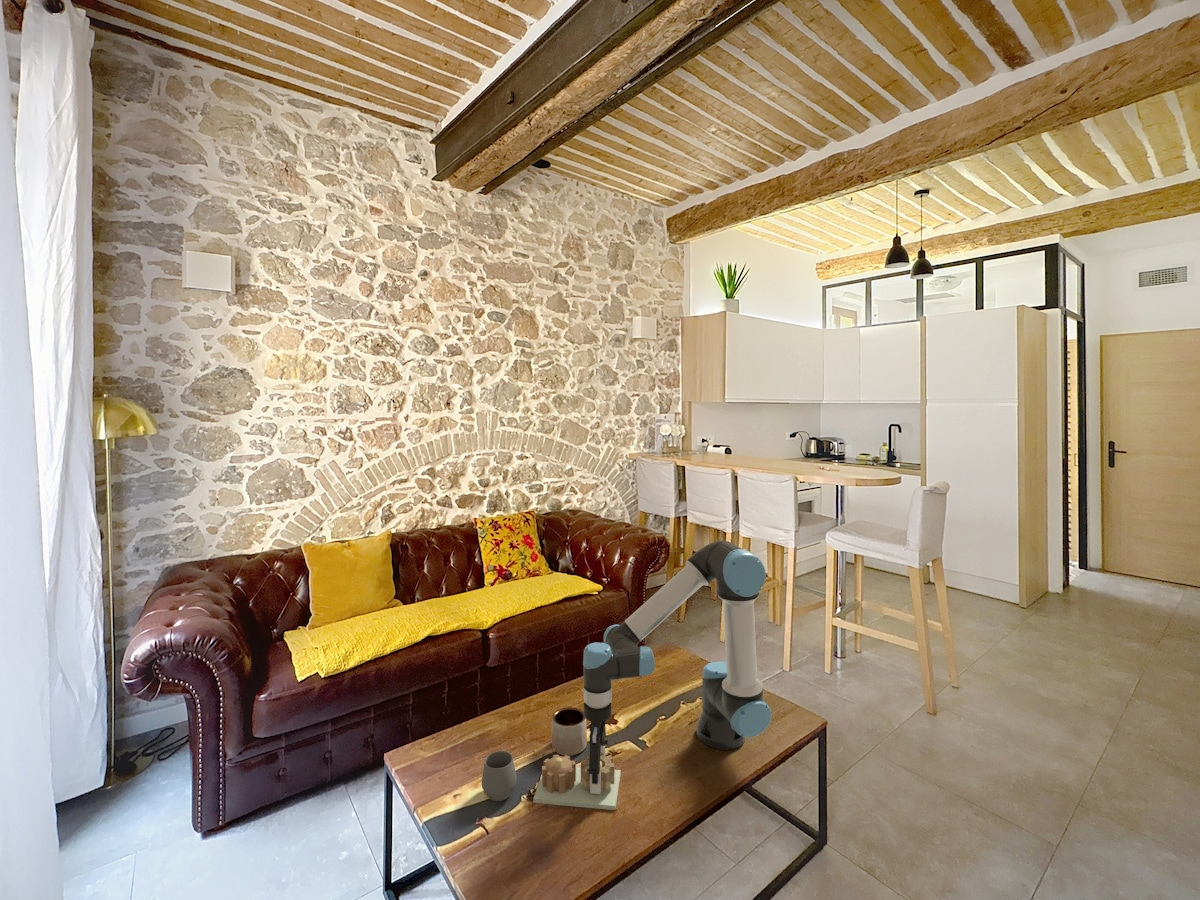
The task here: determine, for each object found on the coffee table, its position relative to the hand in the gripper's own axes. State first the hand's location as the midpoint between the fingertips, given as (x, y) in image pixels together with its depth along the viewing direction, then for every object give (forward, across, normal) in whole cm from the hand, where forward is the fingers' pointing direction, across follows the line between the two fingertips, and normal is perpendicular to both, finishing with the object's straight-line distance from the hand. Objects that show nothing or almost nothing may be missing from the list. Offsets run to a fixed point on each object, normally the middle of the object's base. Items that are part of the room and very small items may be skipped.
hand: (598, 779), depth 149 cm
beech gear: (0, 0, 0) cm, 0 cm away
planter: (+3, -18, -12) cm, 22 cm away
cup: (+3, +5, -26) cm, 27 cm away
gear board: (+3, 0, -6) cm, 6 cm away
